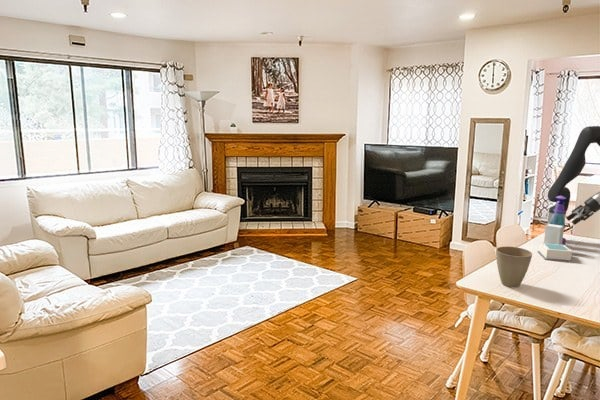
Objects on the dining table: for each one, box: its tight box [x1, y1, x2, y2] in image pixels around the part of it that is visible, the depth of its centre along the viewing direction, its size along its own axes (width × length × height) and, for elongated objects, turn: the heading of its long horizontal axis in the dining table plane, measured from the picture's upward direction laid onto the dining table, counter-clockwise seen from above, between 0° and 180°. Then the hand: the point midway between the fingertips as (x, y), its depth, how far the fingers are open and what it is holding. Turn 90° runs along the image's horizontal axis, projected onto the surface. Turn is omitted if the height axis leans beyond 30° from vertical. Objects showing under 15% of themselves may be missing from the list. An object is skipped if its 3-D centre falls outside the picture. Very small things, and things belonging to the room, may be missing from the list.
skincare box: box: [543, 223, 565, 245], centre depth 256 cm, size 8×6×15 cm
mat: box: [537, 250, 570, 263], centre depth 245 cm, size 14×11×1 cm
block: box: [539, 242, 573, 261], centre depth 245 cm, size 12×5×12 cm
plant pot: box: [495, 245, 533, 288], centre depth 203 cm, size 15×15×16 cm
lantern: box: [550, 196, 567, 246], centre depth 265 cm, size 13×12×30 cm
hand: (570, 221), depth 240 cm, fingers open, 8 cm apart
